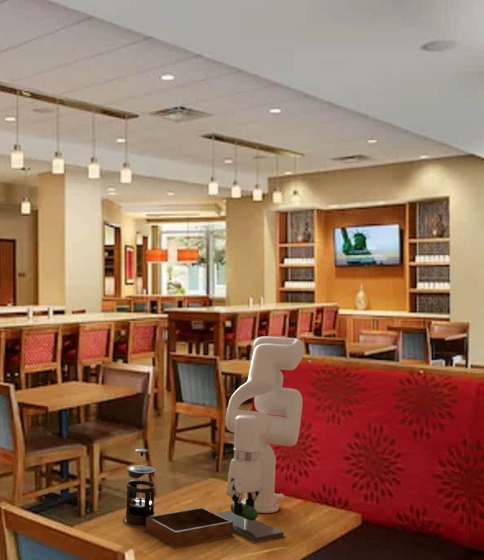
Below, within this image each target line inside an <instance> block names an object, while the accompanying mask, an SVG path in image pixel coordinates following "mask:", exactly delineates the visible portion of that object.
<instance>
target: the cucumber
mask: <svg viewBox="0 0 484 560" xmlns="http://www.w3.org/2000/svg"><path fill="white" fill-rule="evenodd" d="M242 504H243V510H242V516H241V517H243V518H245V519H247V520H250V521H253V520H257V518H258V516H259V512H257V510H256V509H255V508H253V507H251V506H248V505H246V504H244V503H242ZM230 511H232V512H233V513H234V501H232V502H231V504H230Z"/></svg>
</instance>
